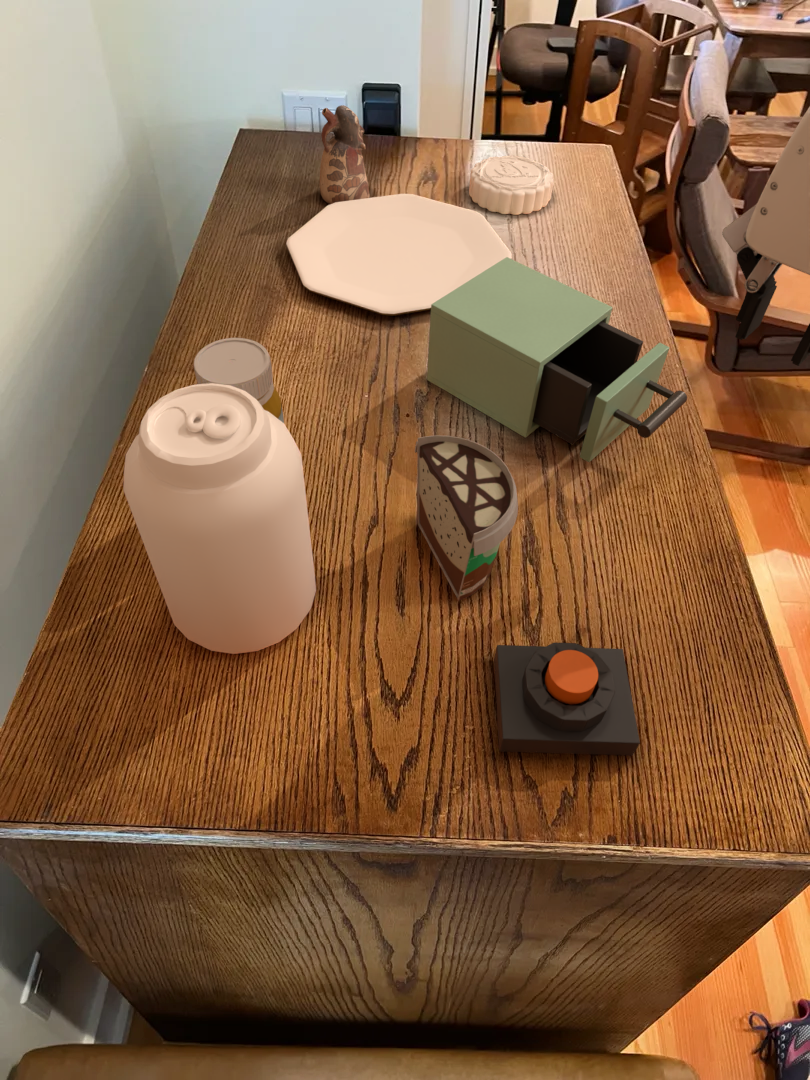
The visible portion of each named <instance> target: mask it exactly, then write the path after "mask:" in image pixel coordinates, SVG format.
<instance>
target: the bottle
mask: <svg viewBox="0 0 810 1080" xmlns="http://www.w3.org/2000/svg"><path fill="white" fill-rule="evenodd" d="M193 370H194V375H195V378H196V384H209V383H215V384H223V385H231V386H233V387H236V388H239V389H241V390H244V391H246V392H247V393H249V394H250V395H251V396H253V397H254V398H255V399H256V400H257V401H258V402H259V403H260V404H261V406H262V407H263V409H264V410H266V411H268V412H270V413H271V414H272V415H274V416H275V417H276V418H278V419H279V420H280V421H281V422H283V423H284V424H285V419H284V412H283V404H282V399H281V397H280V394H279V392H278V390H277V388H276V387H275V386H274V373H273V368H272V360H271V355H270V352H268V350H267V348H266V347H265V346H264V345H263V344H261V343H260V342H257V341H256V340H253V339H249V338H244V337H227V338H221V339H219V340H215V341H213V342H210V343H208V344H207V345H205V346H204V347H203V348H201V349H200V350H199V351H198V352H197V353H196V355H195V357H194V360H193Z"/></svg>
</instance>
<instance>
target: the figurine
mask: <svg viewBox="0 0 810 1080" xmlns="http://www.w3.org/2000/svg"><path fill="white" fill-rule="evenodd" d="M334 112H335V113H333V112H332V111H331V109H329V108H328V107H324V108H323V109H322V110H321V114H322V116H323V117H324V118H325V120H326V123H325V124H324V125H323V127H322V128H321V142H322V145H323V147H324V148H323V151H322V155H321V160H320V167H319V169H320V170H319V181H318V182H319V186H318V187H319V193H320V196H321V198H322V199H323V201H325V202H326V203H327V204H328V205H330V204H333V203H335V202H343V201H350V200H358V199H365V198H371V195H370V189H369V182H368V178H367V172H366V167H365V162H364V156H363V154H362V150H366V144H365V143H364V140H363V135H364V133H365V129H364V127H363V126H362V125H361V124H360V120H359V117H358V115H357V114H356V113H355V112H354V110H352V109H351V108H349V107H348V106H347V105H343V104H342V105H338V106H337V107H336V108H335V111H334ZM331 133H333V136H332V137H330V138H329V139H328V140H327V137H328V135H329V134H331Z"/></svg>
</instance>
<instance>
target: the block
mask: <svg viewBox="0 0 810 1080" xmlns="http://www.w3.org/2000/svg"><path fill="white" fill-rule="evenodd" d="M564 650H575V651H579V652H582V653H584V654H586V655H587V656H588V657H590V658H591V659H592V660H593V662H594V663H595V665H596V667H597V670H598V680H597V683H596V685H595V687H594V690H593V692H592V694H591V696H590V697H589V698H588V699H587V700H586V701H584V702H582V703H579V704H565V703H562V702H560V701H558V700H557V699H555V698H554V697H553V696H552V695H551V694H550V693H549V691H548V690H547V688H546V685H545V675H546V672H547V669H548V666H549V663H550V660H551V659H552V657H553V656H554V655H556V654H557V653H559V652H561V651H564ZM625 659H626V658H625V654H624V649H623V648H607V647H605V648H604V647H585V646H583V645H581V644H579V643H575V642H551V643H550V644H548V645H545V646H543V645H542V646H541V645H516V644H515V645H513V644H511V645H510V644H497V645H496V649H495V652H494V657H493V668H494V685H495V700H496V702H495V703H496V717H497V719H496V720H497V735H498V750H499V752H503V753H530V754H531V753H534V754H535V753H536V754H563V755H565V754H567V755H568V754H569V755H594V756H595V755H599V756H600V755H601V756H627V757H628V756H629V757H631V756H634V754H635V753H636V751H637V749H638V747H639V746H640V744H641V741H640V735H639V729H638V725H637V719H636V713H635V709H634V704H633V703H634V701H633V697H632V693H631V685H630V682H629V681H630V680H629V675H628V671H627V665H626V660H625Z"/></svg>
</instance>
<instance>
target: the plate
mask: <svg viewBox="0 0 810 1080" xmlns="http://www.w3.org/2000/svg"><path fill="white" fill-rule="evenodd" d="M285 244H286V248H287V250H288V253H289V255H290V258H291V259H292V260H291V261H292V262H293V265H294V267H295V270H296V272H297V274H298V277H299V279H300V282H301V284H302V286H303V288H305V289H306V290H308V291H309V292H310V293H314V294H316V295H320V296H323V297H326V298H329V299H331V300H335V301H338V302H341V303H344V304H348V305H351V306H354V307H357V308H360V309H363V310H366V311H369V312H372V313H374V314H378V315H382V316H392V317H394V316H400V315H406V314H411V313H417V312H424V311H431V304H433V303H434V302H436V301H437V300H439V299H441V298H442V297H444V296H445V295H447V294H449V293H450V292H452V291H453V290H455V289H457V288H458V287H460V286H461V285H463V284H464V283H466V282H468V281H469V280H471V279H472V278H474V277H476V276H477V275H479V274H480V273H482V272H484V271H485V270H487V269H488V268H490V267H492V266H493V265H495V264H496V263H498V262H500V261H501V260H503V259H504V258H506V257H508V258H510V259H512V258H513V257H512V256H513V255H512V252H511V250H510V249H509V248H508V246H507V245H506V244H505V242H504V241H503V239H502V238H501V237H500V236H499V234H498V233H497V232H496V231H495V229H494V228H493V227H492V225H491V223H490V222H489V221H488V220H487V219H486V217H485V216H484V214H481V213H480V212H478V211H476V210H473V209H468V208H465V207H461V206H458V205H455V204H450V203H447V202H443V201H439V200H435V199H432V198H428V197H424V196H420V195H417V194H414V193H397V194H396V193H395V194H389V195H380V196H373V197H369V198H365V199H358V200H350V201H343V202H335V203H333V204H328V205H326V206H325V207H324V208H322V209H321V210H320V211H319V212H318V213H316V215H314V216H313V217H312V218H310V219H309V220H308V221H307V222H305V224H304V225H301V227H300V228H299V229H298V230H296V231H295V232H293V234H291V235H290V236H289V237H288V238H287V240H286V243H285Z"/></svg>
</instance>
